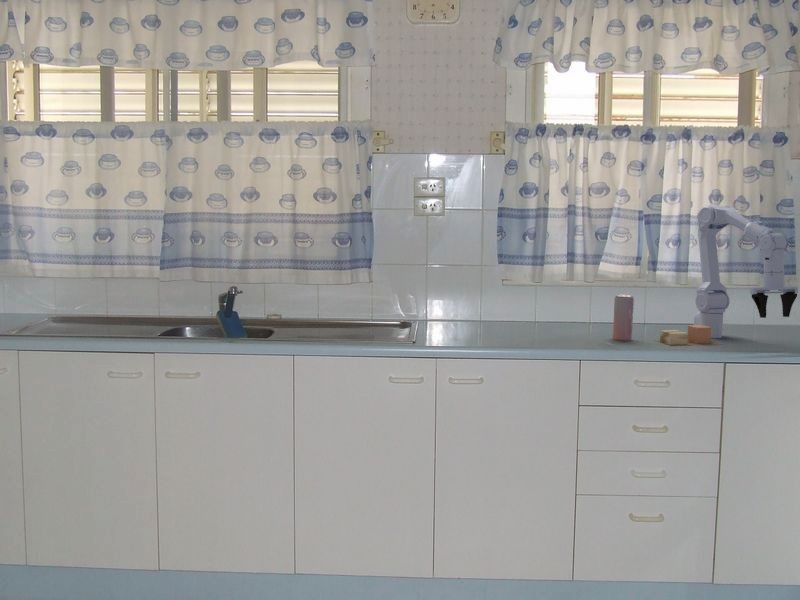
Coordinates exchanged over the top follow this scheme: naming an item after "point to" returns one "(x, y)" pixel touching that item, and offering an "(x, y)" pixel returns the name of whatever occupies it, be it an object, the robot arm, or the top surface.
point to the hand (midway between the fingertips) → (774, 317)
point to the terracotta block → (699, 334)
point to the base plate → (690, 343)
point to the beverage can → (623, 317)
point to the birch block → (673, 337)
